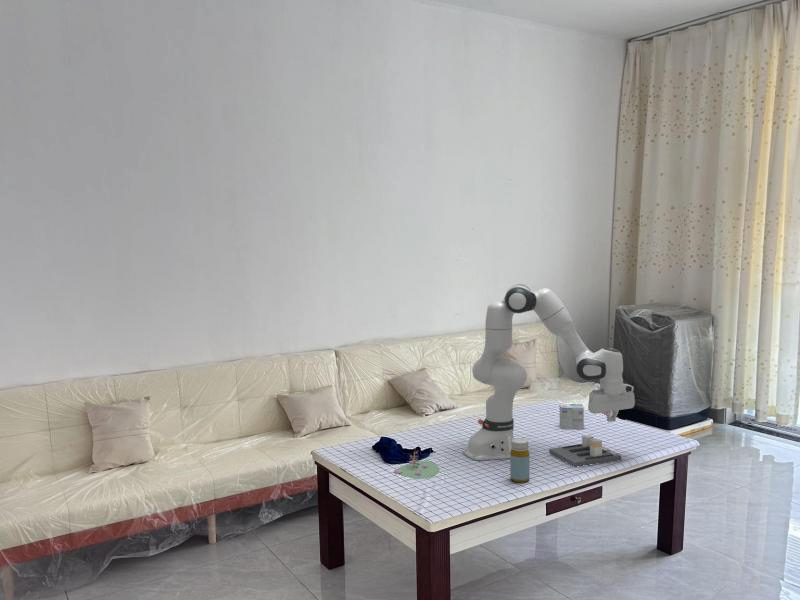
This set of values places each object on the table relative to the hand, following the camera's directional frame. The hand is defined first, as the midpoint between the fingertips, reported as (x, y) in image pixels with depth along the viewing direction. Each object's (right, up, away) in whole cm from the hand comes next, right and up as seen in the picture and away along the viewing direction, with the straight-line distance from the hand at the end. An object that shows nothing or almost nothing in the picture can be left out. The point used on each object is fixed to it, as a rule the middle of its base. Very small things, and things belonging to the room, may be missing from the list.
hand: (611, 421), depth 256 cm
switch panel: (-10, -15, +4) cm, 19 cm away
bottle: (-41, -18, -20) cm, 49 cm away
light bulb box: (-4, -12, +45) cm, 46 cm away
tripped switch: (-7, -14, -1) cm, 15 cm away
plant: (-83, -19, -9) cm, 85 cm away
